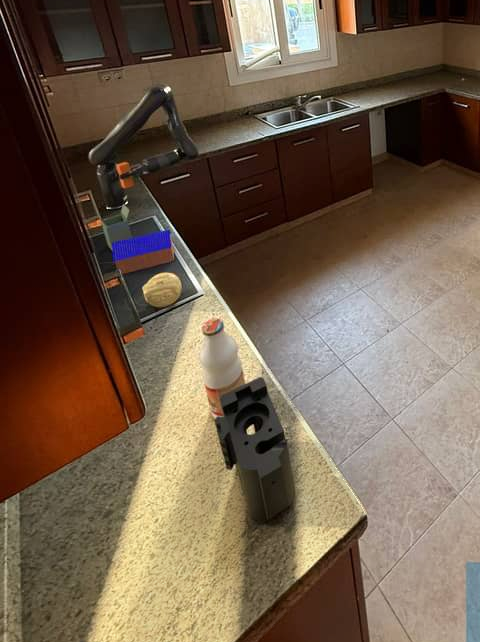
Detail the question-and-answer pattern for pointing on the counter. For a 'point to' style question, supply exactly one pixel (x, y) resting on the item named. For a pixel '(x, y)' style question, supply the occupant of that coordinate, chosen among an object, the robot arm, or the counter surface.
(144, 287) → the tan round lump
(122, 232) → the chute
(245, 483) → the black machined bracket
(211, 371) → the fruit juice
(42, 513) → the counter surface
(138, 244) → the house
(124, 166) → the packet
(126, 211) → the flap
